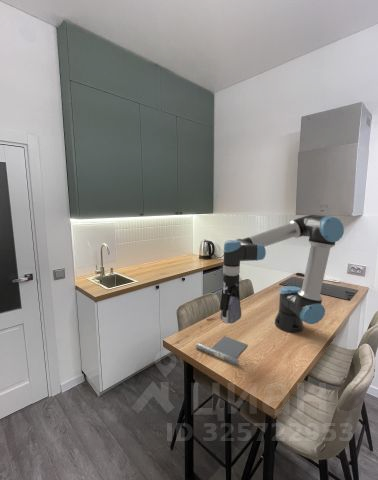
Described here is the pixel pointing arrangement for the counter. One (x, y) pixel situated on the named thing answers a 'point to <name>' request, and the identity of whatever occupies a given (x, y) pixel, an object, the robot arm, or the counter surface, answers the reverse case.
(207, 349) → the rail
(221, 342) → the mat
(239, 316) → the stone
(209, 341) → the counter surface
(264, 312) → the counter surface
